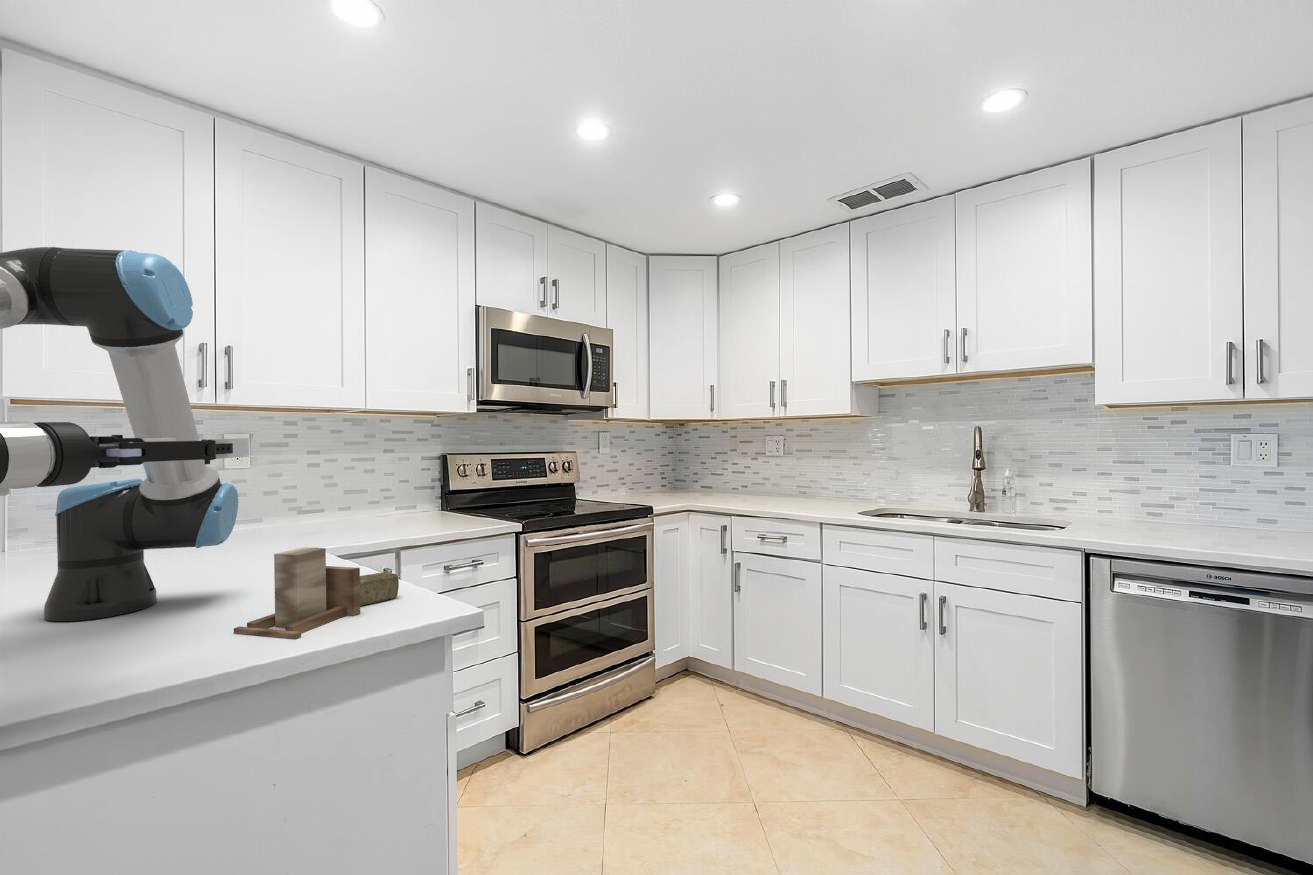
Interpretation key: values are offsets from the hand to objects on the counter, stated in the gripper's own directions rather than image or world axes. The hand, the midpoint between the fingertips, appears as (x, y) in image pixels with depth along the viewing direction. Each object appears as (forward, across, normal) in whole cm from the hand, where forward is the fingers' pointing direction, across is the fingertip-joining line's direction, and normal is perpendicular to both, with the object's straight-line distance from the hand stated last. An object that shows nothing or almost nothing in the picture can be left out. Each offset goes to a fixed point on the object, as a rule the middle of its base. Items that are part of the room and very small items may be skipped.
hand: (210, 447), depth 91 cm
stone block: (+25, +5, -30) cm, 40 cm away
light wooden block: (+12, +4, -30) cm, 33 cm away
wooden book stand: (+12, +4, -30) cm, 32 cm away
